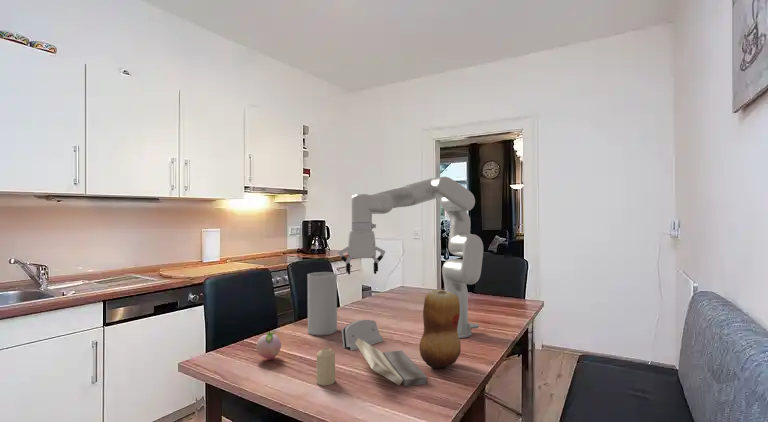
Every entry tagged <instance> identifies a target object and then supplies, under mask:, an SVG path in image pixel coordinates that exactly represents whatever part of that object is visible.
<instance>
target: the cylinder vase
mask: <svg viewBox="0 0 768 422" xmlns="http://www.w3.org/2000/svg"><path fill="white" fill-rule="evenodd" d="M337 277H338V275H337V272H331V271H319V272H316V271H315V272H311V273H307V332H308V334H310V335H312V336H317V337H319V336H321V337H322V336H329V335H332V334H335V333H336V332H337V331H338V293H337V292H338V289H337V288H338V287H337V284H338V283H337V282H338V280H337Z"/></svg>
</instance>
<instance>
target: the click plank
mask: <svg viewBox="0 0 768 422" xmlns="http://www.w3.org/2000/svg"><path fill="white" fill-rule="evenodd" d="M356 345H357V346H358V348H359V349H358V350H360V351H359V352H361V354H362V355H363V357H364V359H365V361H366V362H367V363H368V365H369V367H370V368H371V369H372V370H373V371H374V372H376V373H378V374H380V375H381V376H383V377H384V378H386V379H387V380H389V381H391V382H393V383H395V384H396V385H398V386H400V385H401V384H402V380H403V379H402V377H401V376H400V375H399V374H398V372H397V371H396V370H395V369H394V367H393V366H392V365H391V363H390V362H389V361H388V360H387V358H386V357H385V356H384V355H383V352H382V351H380V350H379V349H377V348H376V347H374V346H373V345H369V344H368V343H366V342H364V341H363V340H361V339H360V338H358V340H357V341H356Z"/></svg>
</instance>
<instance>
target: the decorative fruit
mask: <svg viewBox="0 0 768 422" xmlns="http://www.w3.org/2000/svg"><path fill="white" fill-rule="evenodd" d="M281 348H282V343H281V339H280V337H279V335H277V334H275V333H274V332H273V331H270V330H269V331H268V332H266V334H263V335H262V336H260V337H259V338H258V340H257V342H256V351H257V353H258V355H259V356H261V357H262V358H264V359H266V360H270V361H271V360H272V359H274V358H275V357H276V356H278V354H279V353H280V352H281Z"/></svg>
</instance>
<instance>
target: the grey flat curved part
mask: <svg viewBox="0 0 768 422" xmlns="http://www.w3.org/2000/svg"><path fill="white" fill-rule="evenodd" d="M341 336H342V337H341V338H342V347H343V349H345V348H349V349H350V351H355V350H360V349H359V348H358V346H357V345H356V341H357V340H358V338H360V339H361V340H363V341H364V342H366V343H368V344H369V345H371V346H373V345H375V344H377V343H381V342H383V341H384V338H383V336H382V335H381V333H380V331H379V328H378V326H377V323H376V321H375V320H373V319H372V320H371V319H359V320H356V321H353V322H351V323H349V324H347V325H345V326H344V327H343V328H342V329H341Z"/></svg>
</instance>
